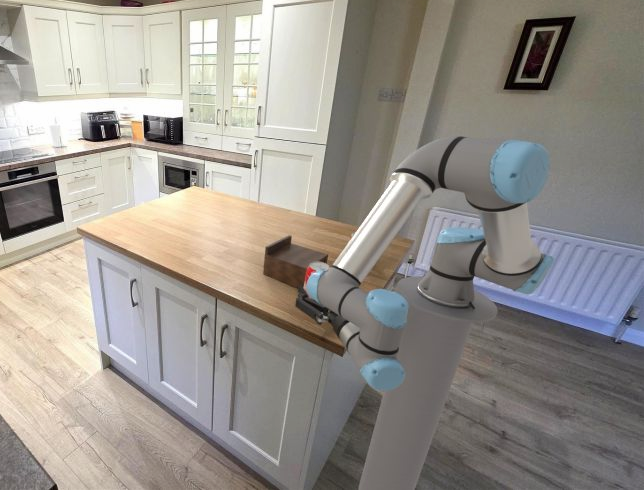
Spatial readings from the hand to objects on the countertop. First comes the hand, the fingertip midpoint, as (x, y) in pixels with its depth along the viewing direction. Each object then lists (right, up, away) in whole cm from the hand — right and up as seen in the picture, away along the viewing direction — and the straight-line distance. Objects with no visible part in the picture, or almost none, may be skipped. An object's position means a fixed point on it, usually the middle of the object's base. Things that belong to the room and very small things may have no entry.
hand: (322, 288), depth 103 cm
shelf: (-2, +2, +23) cm, 23 cm away
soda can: (0, -5, +7) cm, 9 cm away
